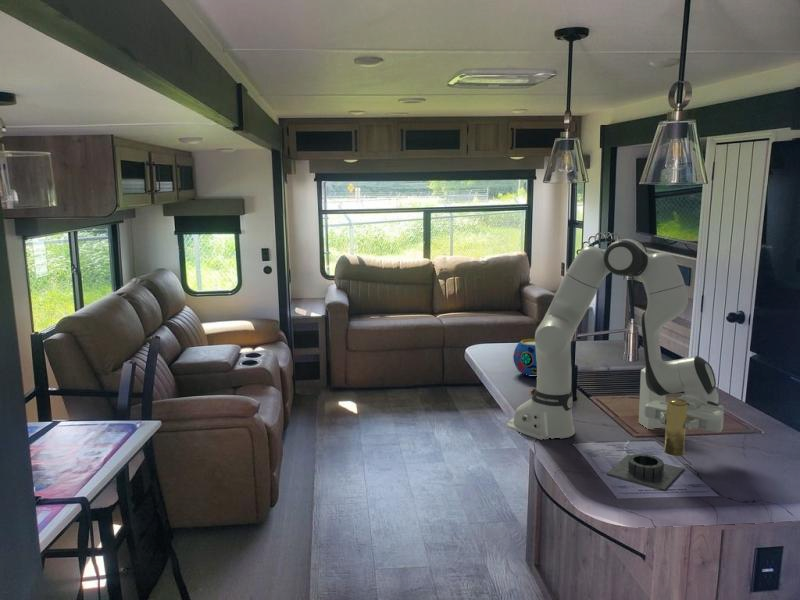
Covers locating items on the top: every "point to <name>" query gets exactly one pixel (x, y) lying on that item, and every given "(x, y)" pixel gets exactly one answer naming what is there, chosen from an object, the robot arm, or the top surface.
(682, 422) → the cylinder
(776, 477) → the top surface
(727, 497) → the top surface
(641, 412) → the milk
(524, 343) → the ceramic pot
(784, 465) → the top surface
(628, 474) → the square socket base
